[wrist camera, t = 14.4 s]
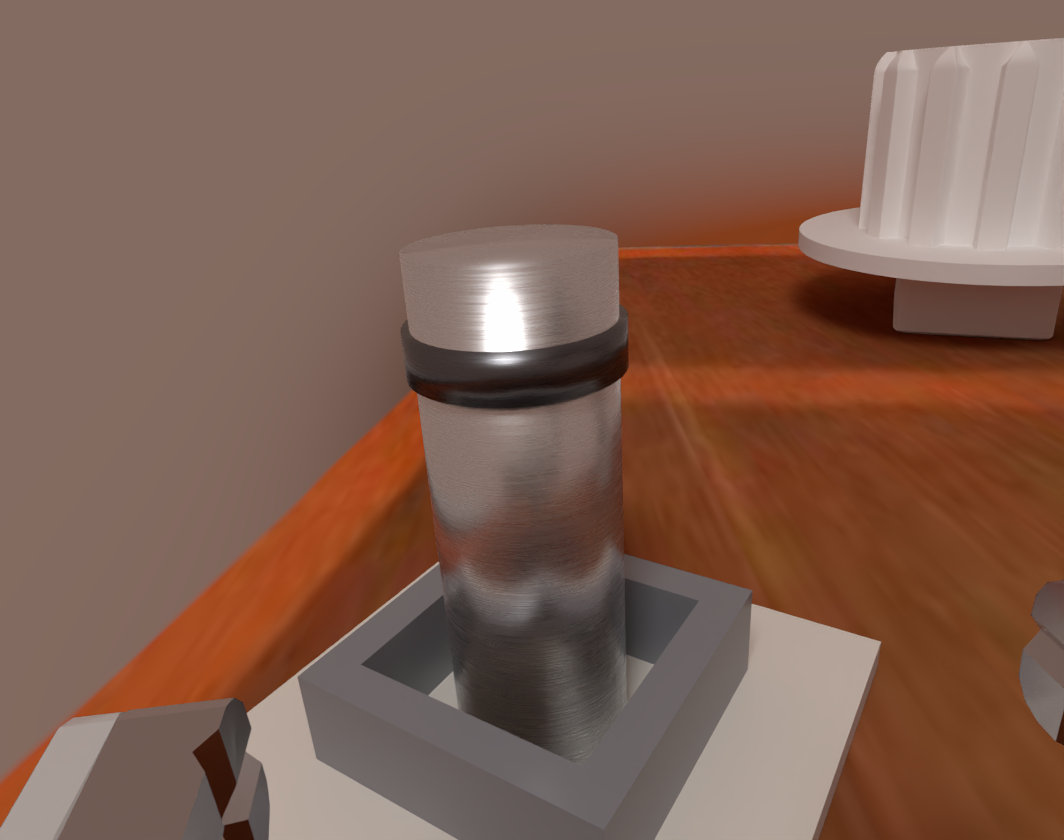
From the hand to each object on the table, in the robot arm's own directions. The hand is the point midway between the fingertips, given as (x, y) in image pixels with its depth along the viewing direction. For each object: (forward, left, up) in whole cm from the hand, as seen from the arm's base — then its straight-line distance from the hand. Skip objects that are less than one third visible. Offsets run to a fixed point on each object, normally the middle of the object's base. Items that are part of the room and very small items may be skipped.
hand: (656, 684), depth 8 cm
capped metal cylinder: (-9, -8, -12) cm, 17 cm away
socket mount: (-9, -8, -13) cm, 17 cm away
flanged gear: (-60, -2, -13) cm, 61 cm away
